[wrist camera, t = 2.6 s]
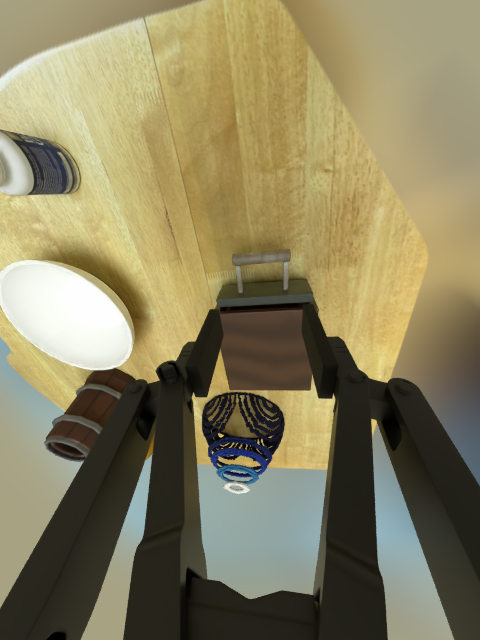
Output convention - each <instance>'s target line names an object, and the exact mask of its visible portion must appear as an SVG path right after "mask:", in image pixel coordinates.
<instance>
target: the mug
mask: <svg viewBox="0 0 480 640" xmlns="http://www.w3.org/2000/svg"><path fill="white" fill-rule="evenodd" d="M133 381H135V380H134V379H133V378H132V377H130V376H128V375H126V374H125V373H123V372H121V371H119V370H117V369H108V370H97V371H95V372H93V373H92V374H91V375H90V376H89V377H88V378H87V380H86V382H85V384H84V386H82V387H81V388H79V389H78V390H77V391H76V394H77V397H76V398H75V400H74V401H73V402H72V404H71V405H70V406H69V408H68V409H67V410H66V412H65V413H64V415H62V416H60V417H58V418H56V419H54V421H53V422H52V424H53V429H52V430H51V431H50V433H49V434H48V436H47V437H46V441H45V442H44V444H45V446H46V449H47V450H49V451H50V452H52V453H53V454H55V455H56V456H59V457H62V458H64V459H67V460H70V461H77V462H82V461H84V460H85V458H86V457H87V455H88V453H89V451H90V450H91V448H92V446H93V444H94V443H95V441H96V439H97V437H98V435H99V434H100V432H101V430H102V428H103V427H104V425H105V423H106V421H107V420H108V418H109V416H110V414H111V413H112V411H113V409H114V407H115V406H116V404H117V402H118V400H119V399H120V397H121V395H122V393H123V391H124V390H125V388H126V387H127V386H128V385H129V384H130V383H131V382H133Z"/></svg>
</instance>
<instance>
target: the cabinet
mask: <svg viewBox="0 0 480 640" xmlns="http://www.w3.org/2000/svg"><path fill="white" fill-rule="evenodd" d="M303 303H304V304H313V305H314V307H315V310H316V312H317V314H318V311H319V309H318V306H317V304H316V302H315V300H314V297H313V302H303ZM215 309H219V314H220V318H221V323H222V328H223V333H224V336H223V340H222V344H221V347H220V348H221V353H222V357H223V362H224V366H225V371H226V375H227V380H228V384H229V389H230V390H311V380H312V371H311V367H310V363H309V359H308V355H307V351H306V347H305V343H304V340H303V336H302V315H303V307H289V308H270V309H252V310H233V311H226V309H227V307H218V306H216V308H215Z"/></svg>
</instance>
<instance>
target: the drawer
mask: <svg viewBox="0 0 480 640" xmlns="http://www.w3.org/2000/svg"><path fill="white" fill-rule="evenodd" d="M290 258H291V253H290V249H284V250H274V251H263V252H253V253H242V254H233V255H232V262H233V265H234V266H235V268H236V276H237V283H238V284H233V285H222V287H221V290H220V292H219V295H218V297H217V299H216V301H217V306H218V307H227V309H226V311H233V310H252V309H270V308H289V307H303V304H304V303H303V302H313V292H312V290H311V288H310V286H309V283H308V281H307V279H301V280H288V261H290ZM273 262H283V281H274V282H260V283H247V284H243V283H242V275H241V267H240V265H250V264H262V263H273Z"/></svg>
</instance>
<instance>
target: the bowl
mask: <svg viewBox="0 0 480 640" xmlns="http://www.w3.org/2000/svg"><path fill="white" fill-rule="evenodd" d="M0 305H1V307H2V310H3V311H4V313H5V314H6V316H7V318H8V319H9V321H10V322H11V323H12V324H13V326H14V327H15V328H16V329H17V330H18V331H19V332H20V333H21V334H22V335H23V336H24V337H25V338H26V339H27V340H28V341H30V342H31V343H32V344H33V345H35V346H36V347H37V348H39V349H40V350H42V351H43V352H45V353H46V354H48V355H50V356H52V357H54V358H56V359H58V360H59V361H62V362H64V363H67V364H69V365H72V366H76V367H79V368H83V369H90V370H108V369H113V368H115V367H118V366H120V365H121V364H123V363H124V362H125V361H126V360H127V359H128V357H129V356H130V354H131V352H132V349H133V346H134V339H135V331H134V327H133V322H132V319H131V316H130V314H129V312H128V309H127V308H126V306H125V305H124V303H123V302H122V300H121V299H120V298H119V297H118V296H117V295H116V294H115V292H114V291H113V290H111V289H110V288H109V287H108V286H107V285H106V284H105V283H103V282H102V281H100V280H99V279H97V278H96V277H94V276H93V275H91V274H89V273H87V272H85V271H83V270H81V269H79V268H76V267H73V266H70V265H67V264H64V263H61V262H55V261H49V260H22V261H18V262H15V263H12V264H9V265H8V266H7V267H5V268H4V269H3V270H2V271H1V273H0Z"/></svg>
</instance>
